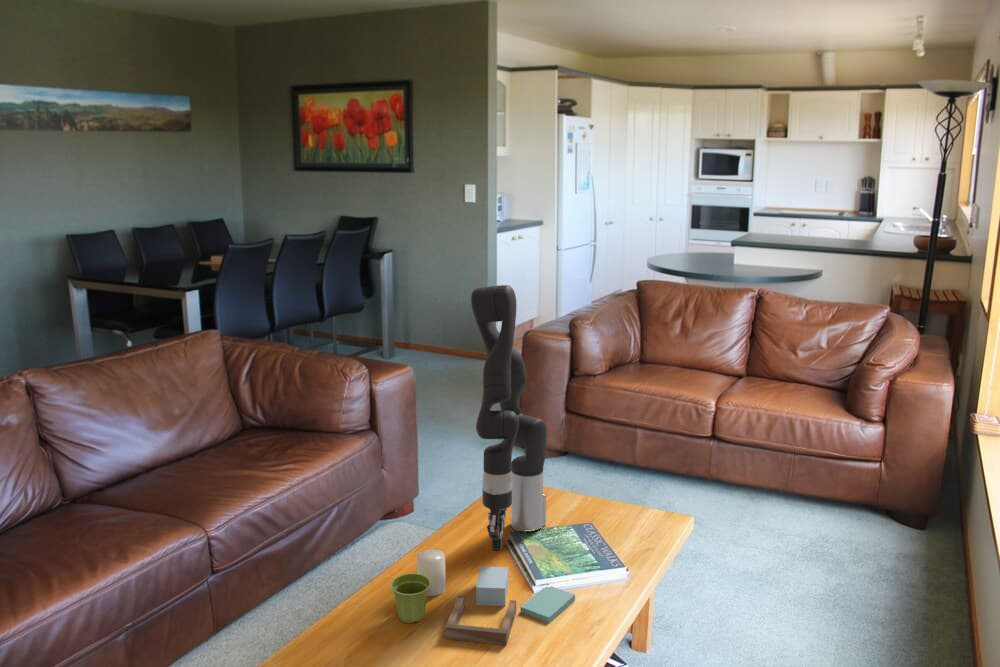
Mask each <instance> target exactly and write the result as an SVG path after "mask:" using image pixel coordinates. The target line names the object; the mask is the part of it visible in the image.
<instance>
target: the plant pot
mask: <svg viewBox="0 0 1000 667" xmlns="http://www.w3.org/2000/svg"><path fill="white" fill-rule="evenodd" d="M430 586H431V581H430V579H429V578H428V577H427V576H425V575H422V574H418V573H417V572H409V573H402V574H400V575H398V576H396V577H395V578H394V579H392V581H391V583H390V588H391V590H392V592H393V594H394V599H395V603H396V604H395V605H396V609H397V614H398V618H399V620H400V621H401V622H402V623H406V624H413V623H415V622H420V621H422V620H423V619H424V618H425V615H426V606H427V600H428V596H427V593H428V591H429V588H430Z"/></svg>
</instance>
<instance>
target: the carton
mask: <svg viewBox="0 0 1000 667" xmlns="http://www.w3.org/2000/svg"><path fill="white" fill-rule="evenodd" d="M475 586H476V588H475V593H476V594H475V598H476V599H475V600H476V602H475V603H476V606H487V607H491V606H492V607H506V603H507V598H506V597H508V596H507V595H508V591H507V590H509V567H508V566H507V567H505V566H482V565H481V566H480V568H479V572H478V577H477V582H476V585H475Z"/></svg>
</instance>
